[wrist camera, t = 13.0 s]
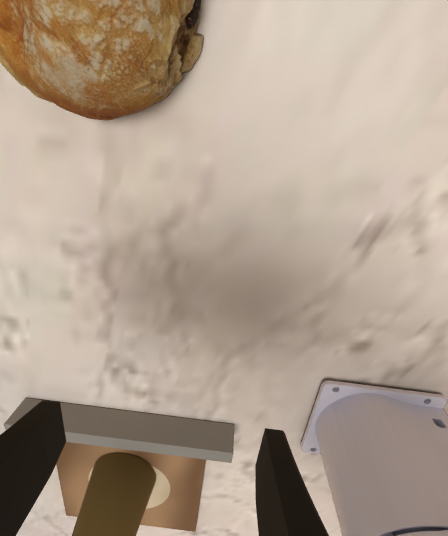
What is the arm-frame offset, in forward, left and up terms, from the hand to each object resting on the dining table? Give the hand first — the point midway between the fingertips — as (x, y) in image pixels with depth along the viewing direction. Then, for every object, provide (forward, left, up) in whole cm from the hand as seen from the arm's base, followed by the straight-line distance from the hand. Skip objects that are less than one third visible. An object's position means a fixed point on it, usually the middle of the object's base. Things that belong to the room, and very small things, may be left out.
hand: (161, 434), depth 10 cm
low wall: (+5, +13, -10) cm, 17 cm away
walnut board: (+5, +22, -10) cm, 25 cm away
